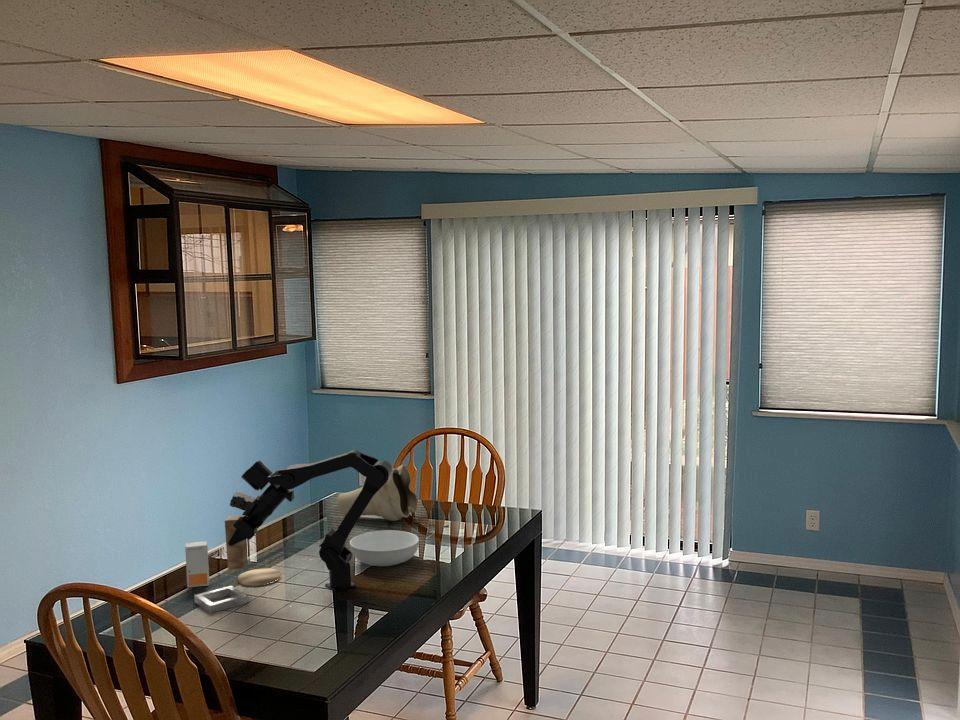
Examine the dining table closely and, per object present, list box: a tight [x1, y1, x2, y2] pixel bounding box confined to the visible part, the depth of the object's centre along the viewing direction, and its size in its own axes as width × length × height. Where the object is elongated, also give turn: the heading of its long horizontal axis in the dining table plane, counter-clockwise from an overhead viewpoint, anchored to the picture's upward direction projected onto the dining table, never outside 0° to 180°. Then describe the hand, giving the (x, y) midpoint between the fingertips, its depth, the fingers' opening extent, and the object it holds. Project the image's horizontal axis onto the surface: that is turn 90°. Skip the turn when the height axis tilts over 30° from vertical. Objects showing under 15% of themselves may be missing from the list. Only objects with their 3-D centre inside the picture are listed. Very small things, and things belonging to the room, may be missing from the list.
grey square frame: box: [193, 585, 249, 614], centre depth 241 cm, size 10×10×2 cm
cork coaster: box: [237, 567, 281, 587], centre depth 259 cm, size 12×12×1 cm
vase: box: [337, 464, 418, 522], centre depth 317 cm, size 23×23×30 cm
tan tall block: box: [224, 514, 249, 570], centre depth 250 cm, size 4×4×14 cm
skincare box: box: [184, 540, 210, 589], centre depth 255 cm, size 6×4×12 cm
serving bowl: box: [349, 529, 420, 567], centre depth 271 cm, size 21×21×7 cm
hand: (231, 541), depth 250 cm, fingers closed on tan tall block, 4 cm apart
